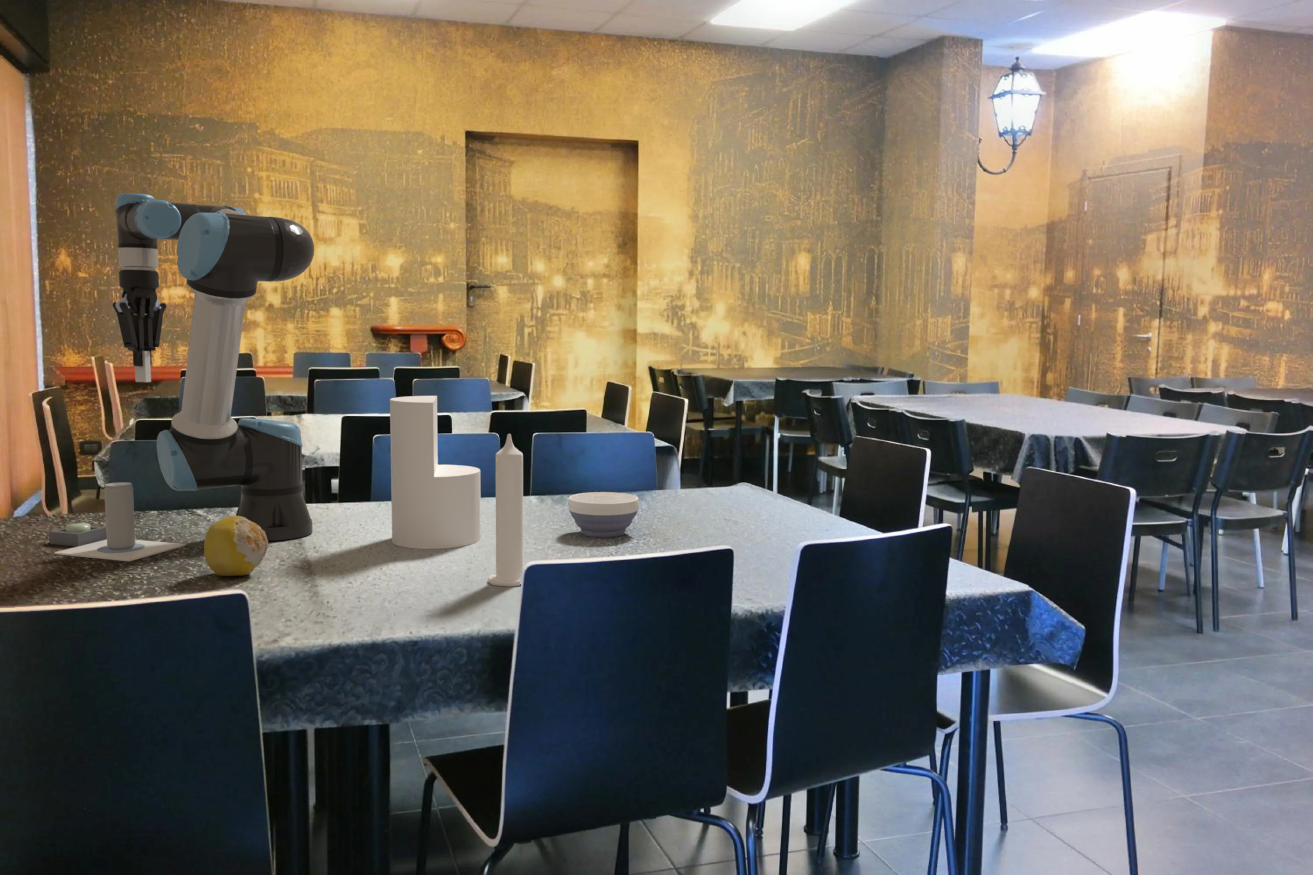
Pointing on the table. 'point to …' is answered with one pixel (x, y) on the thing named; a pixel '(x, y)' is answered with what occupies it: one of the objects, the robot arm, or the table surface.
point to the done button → (78, 527)
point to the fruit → (234, 546)
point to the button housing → (77, 536)
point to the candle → (509, 516)
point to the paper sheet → (136, 552)
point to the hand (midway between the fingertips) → (143, 381)
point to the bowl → (603, 512)
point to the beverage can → (119, 515)
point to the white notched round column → (429, 482)
